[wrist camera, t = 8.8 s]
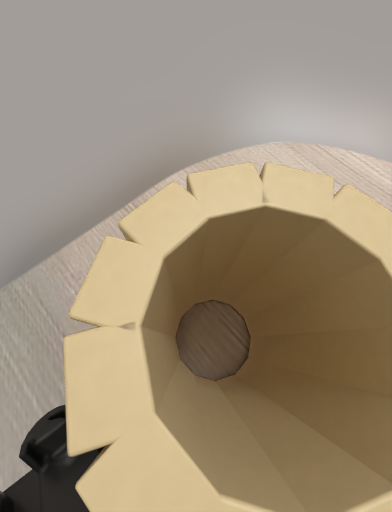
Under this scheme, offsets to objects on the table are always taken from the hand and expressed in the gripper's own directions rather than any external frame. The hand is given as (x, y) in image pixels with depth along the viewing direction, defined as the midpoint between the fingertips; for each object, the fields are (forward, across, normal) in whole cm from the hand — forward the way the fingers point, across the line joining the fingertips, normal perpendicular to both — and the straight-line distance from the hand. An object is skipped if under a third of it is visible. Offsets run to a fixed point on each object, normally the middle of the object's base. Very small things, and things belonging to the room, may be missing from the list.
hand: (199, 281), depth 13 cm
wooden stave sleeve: (0, 0, -5) cm, 5 cm away
